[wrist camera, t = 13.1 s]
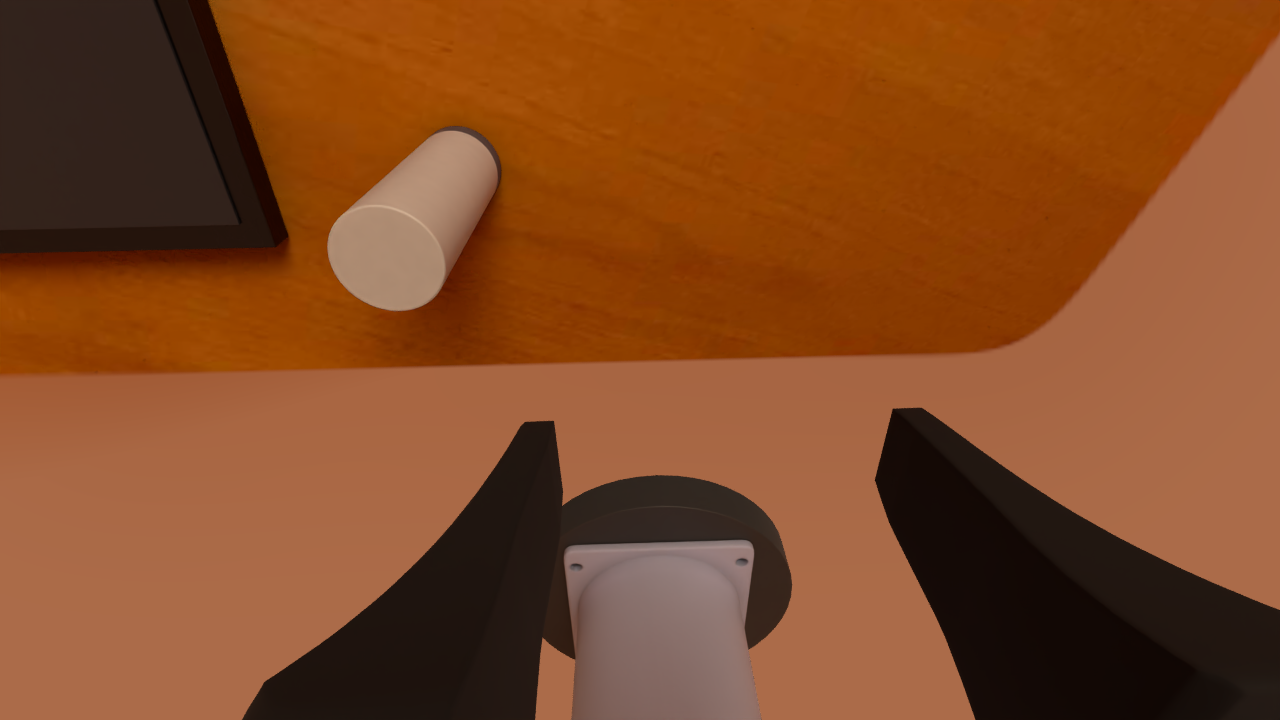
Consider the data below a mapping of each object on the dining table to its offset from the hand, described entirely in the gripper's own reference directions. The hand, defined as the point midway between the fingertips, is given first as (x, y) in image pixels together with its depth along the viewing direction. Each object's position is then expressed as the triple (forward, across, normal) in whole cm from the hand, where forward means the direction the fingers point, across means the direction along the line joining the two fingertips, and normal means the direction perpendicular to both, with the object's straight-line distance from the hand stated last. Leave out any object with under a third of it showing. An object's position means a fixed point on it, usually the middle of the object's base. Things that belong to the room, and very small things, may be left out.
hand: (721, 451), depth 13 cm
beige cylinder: (+9, +7, -4) cm, 12 cm away
